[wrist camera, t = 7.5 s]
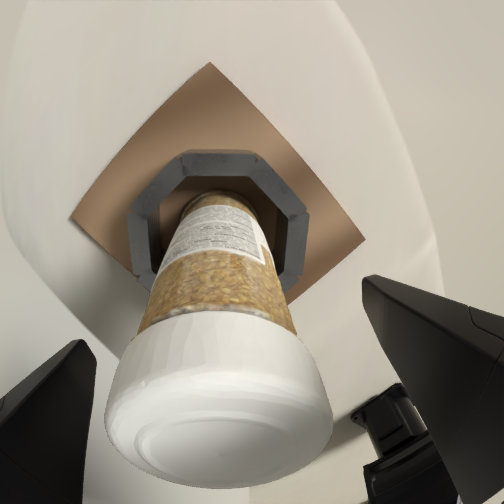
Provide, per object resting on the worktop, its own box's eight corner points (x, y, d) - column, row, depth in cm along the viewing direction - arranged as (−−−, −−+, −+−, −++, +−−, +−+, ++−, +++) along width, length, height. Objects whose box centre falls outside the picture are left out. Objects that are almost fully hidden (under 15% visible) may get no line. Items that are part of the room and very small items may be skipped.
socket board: (361, 236, 19) (365, 239, 18) (229, 344, 21) (229, 349, 20) (210, 63, 14) (209, 61, 13) (74, 213, 16) (70, 216, 16)
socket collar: (321, 227, 17) (339, 246, 15) (218, 314, 19) (218, 344, 16) (220, 116, 14) (219, 113, 12) (115, 226, 16) (97, 245, 13)
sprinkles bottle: (250, 267, 18) (296, 492, 6) (175, 256, 17) (117, 481, 5) (267, 194, 16) (382, 386, 4) (184, 180, 16) (75, 360, 3)
